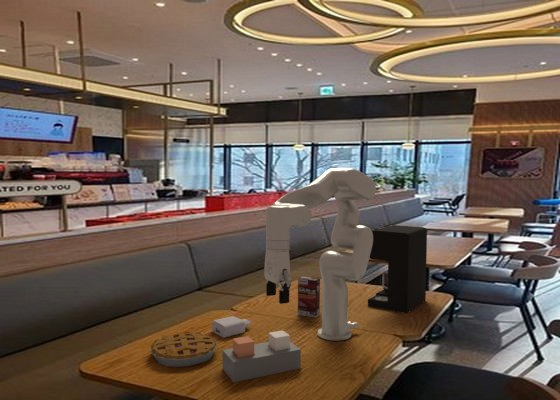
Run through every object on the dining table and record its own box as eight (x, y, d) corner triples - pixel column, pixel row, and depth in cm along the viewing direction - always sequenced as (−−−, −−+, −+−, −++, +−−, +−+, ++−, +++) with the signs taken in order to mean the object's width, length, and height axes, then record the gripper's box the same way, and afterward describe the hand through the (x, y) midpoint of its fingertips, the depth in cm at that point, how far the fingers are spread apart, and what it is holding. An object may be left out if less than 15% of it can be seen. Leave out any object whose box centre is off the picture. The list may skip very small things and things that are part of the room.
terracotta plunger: (248, 355, 142) (248, 336, 142) (254, 361, 138) (254, 341, 138) (232, 357, 140) (232, 338, 140) (238, 364, 136) (238, 344, 135)
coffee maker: (390, 292, 231) (391, 223, 228) (429, 298, 219) (430, 226, 217) (366, 305, 208) (367, 229, 206) (408, 313, 197) (409, 232, 194)
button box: (286, 356, 151) (286, 338, 151) (300, 368, 142) (300, 349, 142) (222, 368, 142) (222, 350, 141) (233, 382, 133) (233, 362, 132)
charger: (257, 330, 177) (224, 338, 168) (244, 323, 184) (211, 331, 175) (257, 318, 177) (224, 326, 167) (244, 312, 184) (211, 319, 175)
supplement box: (297, 315, 194) (297, 278, 193) (301, 312, 199) (301, 276, 198) (316, 317, 191) (317, 280, 190) (320, 314, 195) (320, 277, 194)
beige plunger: (282, 348, 148) (282, 330, 147) (289, 354, 143) (289, 335, 143) (268, 351, 145) (268, 332, 145) (275, 357, 141) (275, 337, 141)
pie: (155, 374, 138) (155, 358, 138) (146, 348, 158) (145, 334, 158) (225, 362, 147) (225, 347, 147) (208, 339, 167) (207, 326, 167)
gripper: (256, 241, 149) (256, 293, 150) (278, 249, 133) (278, 307, 134) (277, 240, 152) (276, 291, 153) (301, 248, 137) (300, 305, 138)
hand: (277, 299), depth 144 cm, fingers open, 9 cm apart
